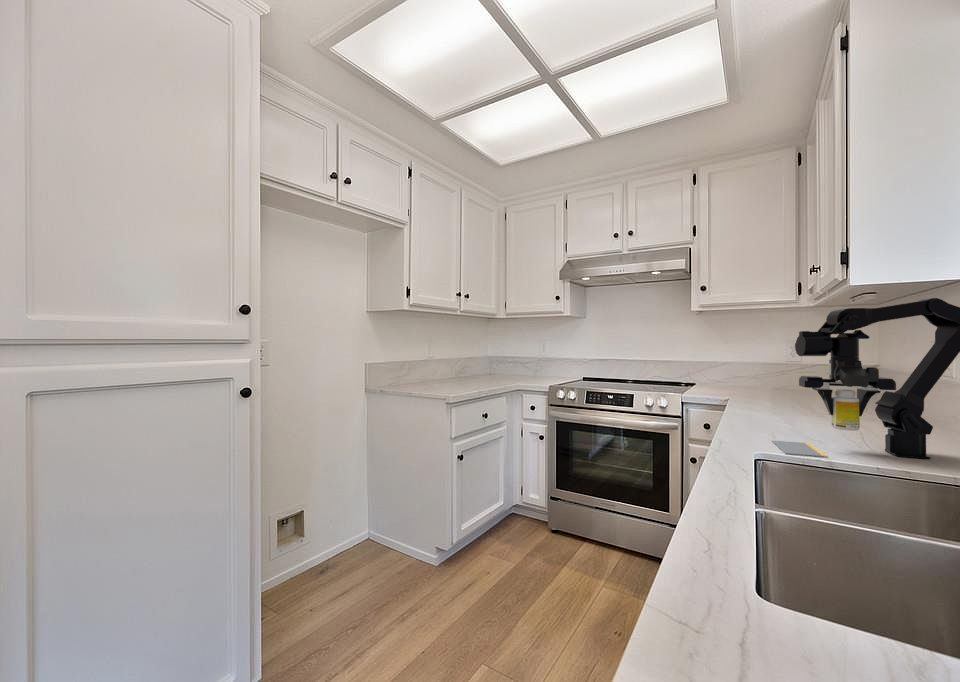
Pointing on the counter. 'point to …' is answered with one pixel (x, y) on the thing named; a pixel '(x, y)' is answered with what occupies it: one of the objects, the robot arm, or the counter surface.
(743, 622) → the counter surface
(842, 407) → the supplement bottle
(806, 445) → the mat
